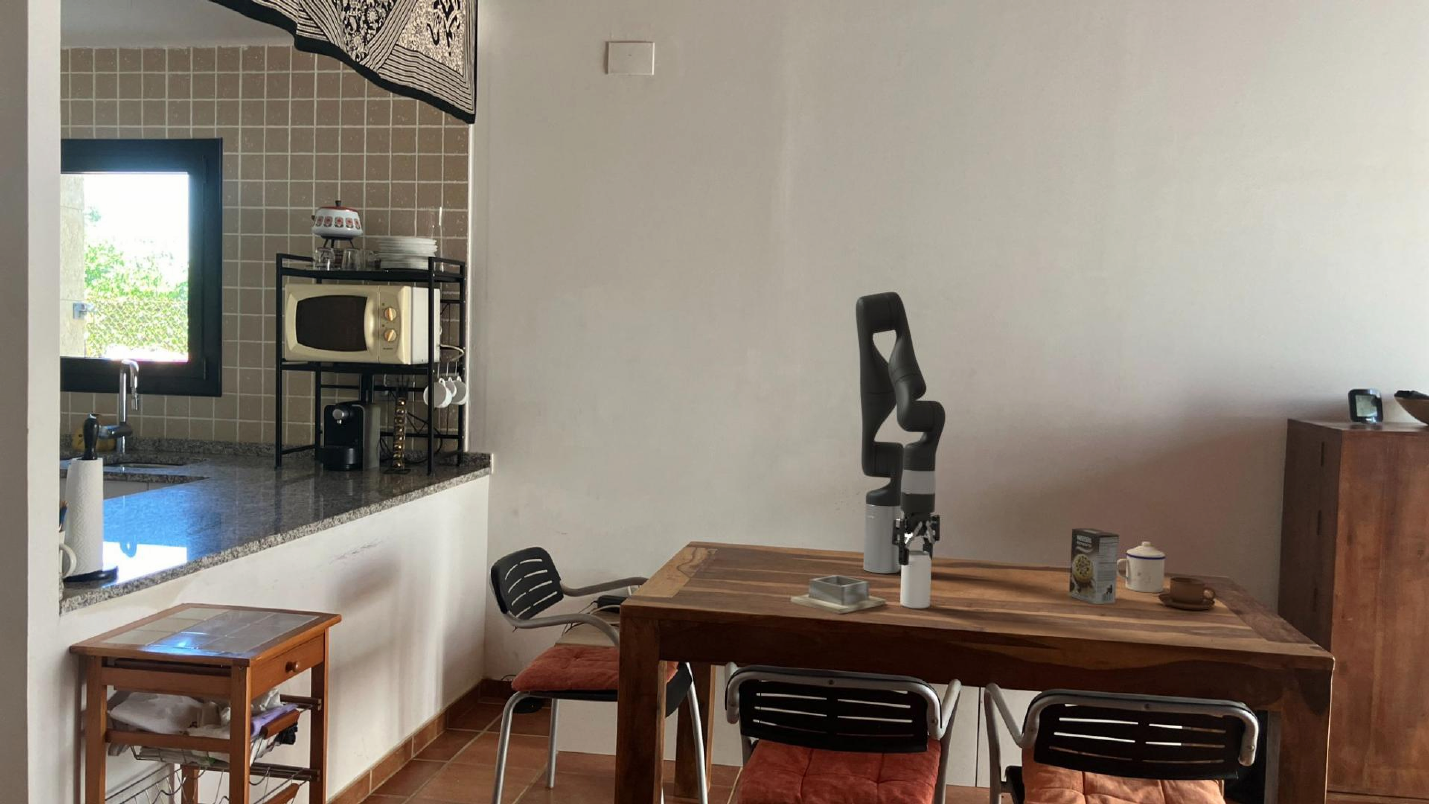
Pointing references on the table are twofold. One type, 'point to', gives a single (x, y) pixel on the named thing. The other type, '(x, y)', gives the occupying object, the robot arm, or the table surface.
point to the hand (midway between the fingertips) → (915, 563)
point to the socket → (838, 595)
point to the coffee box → (1093, 565)
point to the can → (916, 580)
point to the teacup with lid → (1144, 569)
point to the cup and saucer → (1188, 594)
